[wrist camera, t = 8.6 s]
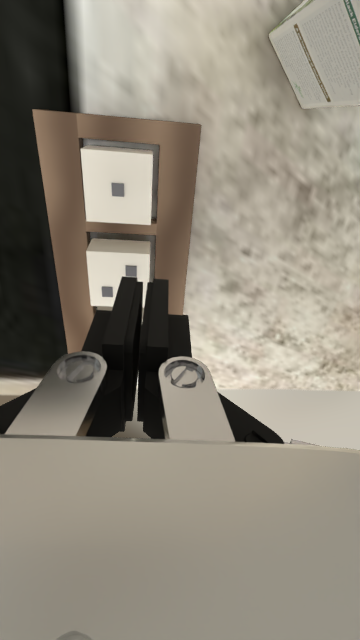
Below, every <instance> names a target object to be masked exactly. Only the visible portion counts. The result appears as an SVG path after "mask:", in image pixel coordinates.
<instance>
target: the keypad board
mask: <svg viewBox="0 0 360 640" xmlns="http://www.w3.org/2000/svg"><path fill="white" fill-rule="evenodd" d="M32 111H33V118H34V124H35V131H36V138H37V145H38V151H39V158H40V165H41V172H42V179H43V185H44V192H45V199H46V206H47V212H48V219H49V226H50V233H51V239H52V246H53V253H54V260H55V267H56V273H57V280H58V287H59V294H60V300H61V307H62V314H63V321H64V327H65V334H66V341H67V348H68V354H70V353H73V352H80V351H81V350H82V347H83V345H84V342H85V339H86V337H87V334H88V331H89V329H90V326H91V323H92V321H93V318H94V315H95V313H96V306H91V302H90V290H89V279H88V268H87V256H86V250H87V248H88V246H89V244H90V232H105V233H123V234H141V235H156V248H155V274H154V279H167V280H169V298H168V314H174V315H183V305H184V294H185V284H186V274H187V264H188V254H189V244H190V234H191V224H192V214H193V204H194V194H195V184H196V174H197V164H198V154H199V144H200V134H201V125H200V124H191V123H180V122H170V121H159V120H148V119H137V118H126V117H115V116H105V115H94V114H83V113H72V112H61V111H51V110H40V109H32ZM82 138H88V139H100V140H112V141H123V142H135V143H147V144H159V170H158V196H157V219H151V225H140V224H123V223H106V222H89V221H86V210H85V198H84V186H83V173H82V161H81V148H83V140H82Z"/></svg>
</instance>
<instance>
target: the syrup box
mask: <svg viewBox="0 0 360 640" xmlns="http://www.w3.org/2000/svg"><path fill="white" fill-rule="evenodd" d="M269 39H270V41H271V43H272V45H273V47H274V49H275V52H276V54H277V56H278V58H279V60H280V62H281V65H282V67H283V69H284V71H285V73H286V75H287V77H288V79H289V82H290V84H291V86H292V88H293V90H294V92H295V94H296V97H297V99H298V101H299V103H300V105H301V107H302V108H303V109H310V108H326V107H346V106H360V0H304V1H303V2H302V3H301V4H300V5H299V6H298V7H297V8H296V9H294V10H293V11H292V12H291V13H290V14H289V15H288V16H287V17H286V18H285V19H284V20H283V21H282V22H281V23H280V24H278V25H277V26H276V27H275V28H274V29H273V30H272V31H271V32H270V33H269Z"/></svg>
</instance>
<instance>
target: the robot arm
mask: <svg viewBox="0 0 360 640" xmlns="http://www.w3.org/2000/svg"><path fill="white" fill-rule="evenodd" d="M168 298H169V280H167V279H154V282H148V283H147V291H146V298H145V306H144V313H143V321H142V305H143V282H138V280H137V277H123V276H122V278H121V281H120V284H119V288H118V291H117V295H116V298H115V301H114V305H113V308H112V311H108V310H97V311H96V313H95V315H94V318H93V321H92V323H91V326H90V329H89V331H88V334H87V337H86V339H85V342H84V345H83V347H82V350H81V351H80V352H73V353H70V354H67V355H65V356H63V357H61V358H60V359H58V360H57V361H56V362H55V363H54V364H53V366H52V367H51V369H50V370H49V371H48V373H47V374H46V376H45V377H44V379H43V380H42V381H41V383H40V384H39V386H38V387H37V388H36V389H34V390H32V391H30V392H28V393H26V394H24V395H22V396H20V397H18V398H16V399H14V400H12V401H10V402H7V403H5V404H3V405H2V406H0V640H360V450H355V449H348V448H336V447H324V446H319V445H314V444H310V443H306V442H302V441H297V440H293V439H291V442H290V443H287V442H283V440H282V439H281V438H280V437H279V436H278V435H277V434H276V433H275V432H274V431H272V430H271V429H270V428H268V427H267V426H265V425H264V424H262V423H261V422H259V421H258V420H257V419H255V418H254V417H253V416H251V415H250V414H248V413H247V412H245V411H244V410H243V409H241V408H240V407H238V406H237V405H235V404H234V403H233V402H231V401H230V400H228V399H227V398H225V397H224V396H222V395H221V394H220V393H218V392H217V390H216V387H215V384H214V382H213V379H212V376H211V373H210V371H209V369H208V368H207V366H206V365H204V364H203V363H202V362H200V361H199V360H197V359H194V358H192V353H191V342H190V331H189V319H188V315H174V314H168ZM138 370H139V372H138ZM137 378H138V417H137V421H142V422H143V431H144V432H145V433H146V434H147V435H148V436H150V437H151V438H152V439H143V438H116V437H114V438H113V437H112V436H113V435H115V434H116V433H118V432H119V431H123V432H124V430H125V423H126V421H132V418H133V410H134V402H135V394H136V386H137Z"/></svg>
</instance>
